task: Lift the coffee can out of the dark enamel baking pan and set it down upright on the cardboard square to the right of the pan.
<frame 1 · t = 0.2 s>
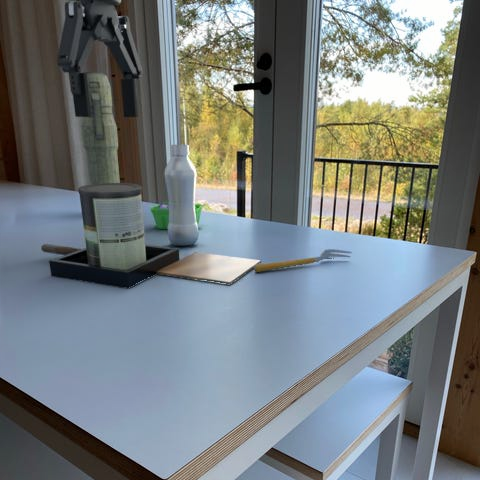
hand: (108, 117, 85), 25 cm above the table, tool pointing down, fingers open, 13 cm apart
pan: (118, 269, 85), on the table
coffee can: (118, 268, 85), resting on pan
fork: (303, 267, 87), on the table
plastic bottle: (183, 245, 101), on the table
cardboard square: (210, 268, 85), on the table
fruit basket: (178, 227, 117), on the table
thermos: (108, 215, 132), on the table
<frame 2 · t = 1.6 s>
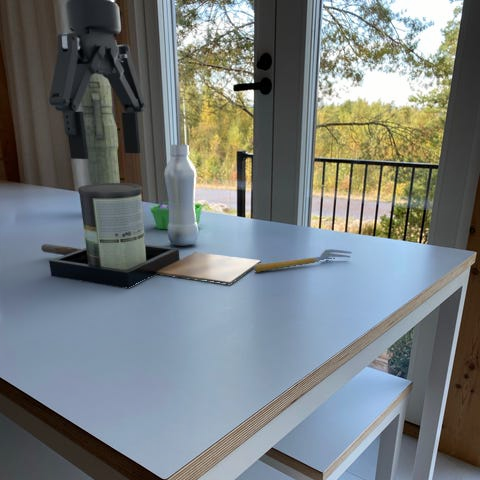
hand: (108, 156, 77), 19 cm above the table, tool pointing down, fingers open, 13 cm apart
nothing on the table moved.
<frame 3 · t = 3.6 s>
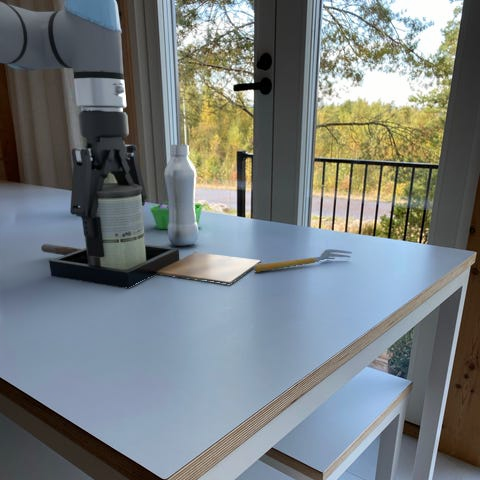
hand: (116, 248, 83), 4 cm above the table, tool pointing down, fingers closed on coffee can, 10 cm apart
coffee can: (118, 268, 85), resting on pan, touching gripper
everything else where it was.
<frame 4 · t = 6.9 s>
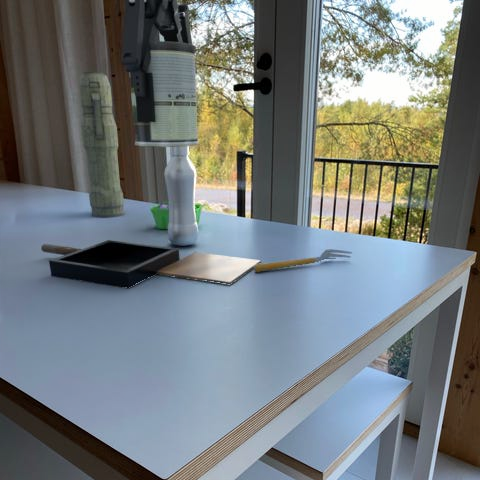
hand: (165, 121, 75), 24 cm above the table, tool pointing down, fingers closed on coffee can, 10 cm apart
coffee can: (167, 146, 77), point 21 cm above the table, touching gripper
everything else where it was.
when the fingers open (4 cm above the table, at t = 12.3 s): coffee can stays where it is, resting on cardboard square.
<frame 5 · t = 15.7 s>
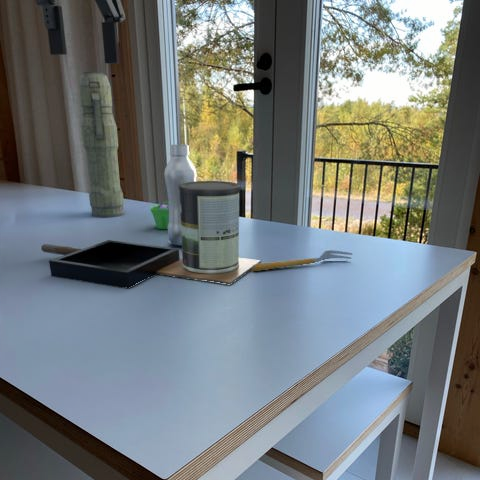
hand: (87, 59, 82), 34 cm above the table, tool pointing down, fingers open, 13 cm apart
coffee can: (210, 266, 85), resting on cardboard square
everything else where it was.
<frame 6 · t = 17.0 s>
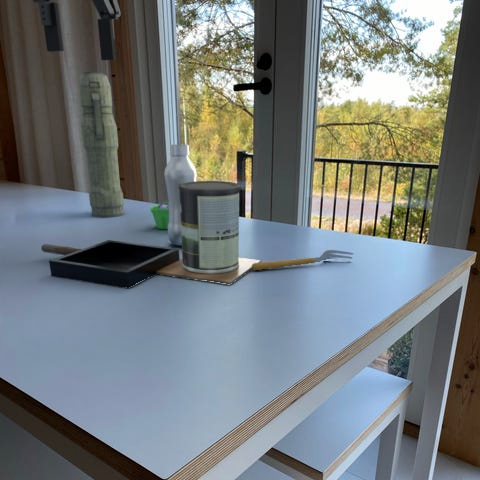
hand: (83, 56, 82), 35 cm above the table, tool pointing down, fingers open, 13 cm apart
nothing on the table moved.
at the end: coffee can inside the target area on the cardboard square (0.0 cm from its centre), point 0.4 cm above the cardboard square's base; coffee can tilted 0°; coffee can touching cardboard square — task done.
